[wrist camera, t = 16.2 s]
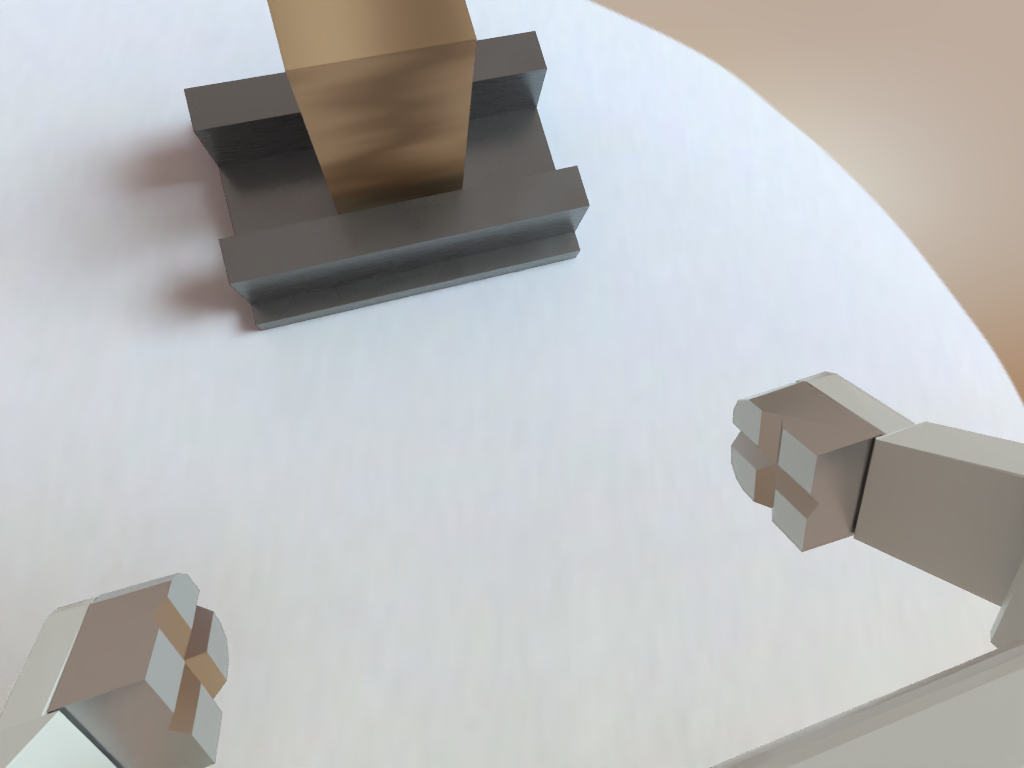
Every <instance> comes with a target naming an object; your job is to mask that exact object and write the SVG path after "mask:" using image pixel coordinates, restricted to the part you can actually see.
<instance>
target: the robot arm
mask: <svg viewBox="0 0 1024 768" xmlns="http://www.w3.org/2000/svg"><path fill="white" fill-rule="evenodd" d="M733 424H734V425H735V426H736V427H737V428H738V429H739V430H740V433H739V434H738V436H737V437H736V439H735V440H734V442H733V443H732V445H731V464H732V467H733V470H734V473H735V476H736V479H737V481H738V482H739V484H740V486H741V487H742V489H743V491H744V492H745V493H746V494H747V495H748V496H749V497H750V498H751V499H752V500H753V501H754V502H756V503H759V504H762V505H764V506H767V507H770V508H772V522H773V523H774V524H775V525H776V526H777V527H778V528H779V529H780V530H781V531H782V532H783V533H784V534H785V535H786V536H787V537H788V538H789V539H790V540H791V541H792V542H793V543H794V544H795V545H796V547H797V548H798V549H799V550H800V551H801V552H804V551H807V550H810V549H813V548H816V547H819V546H822V545H825V544H828V543H831V542H834V541H837V540H840V539H843V538H846V537H849V536H852V535H854V539H856V540H859V541H861V542H863V543H865V544H867V545H869V546H872V547H874V548H876V549H878V550H880V551H882V552H884V553H887V554H889V555H891V556H893V557H895V558H897V559H900V560H902V561H904V562H906V563H908V564H910V565H913V566H915V567H917V568H919V569H921V570H923V571H925V572H928V573H930V574H932V575H934V576H936V577H938V578H941V579H943V580H945V581H947V582H949V583H951V584H953V585H956V586H958V587H960V588H962V589H964V590H966V591H969V592H971V593H973V594H975V595H977V596H979V597H981V598H984V599H986V600H988V601H990V602H992V603H994V604H997V605H999V606H1001V609H1000V611H999V613H998V616H997V618H996V620H995V622H994V624H993V627H992V629H991V643H992V644H993V645H994V646H996V647H997V648H998V649H996V650H993V651H991V652H989V653H986V654H984V655H981V656H979V657H976V658H974V659H972V660H969V661H967V662H964V663H962V664H960V665H957V666H955V667H952V668H950V669H947V670H945V671H943V672H940V673H938V674H935V675H933V676H930V677H928V678H926V679H923V680H921V681H918V682H916V683H914V684H911V685H909V686H906V687H904V688H901V689H899V690H897V691H894V692H892V693H889V694H887V695H884V696H882V697H880V698H877V699H875V700H872V701H870V702H868V703H865V704H863V705H860V706H858V707H855V708H853V709H851V710H848V711H846V712H843V713H841V714H838V715H836V716H834V717H831V718H829V719H826V720H824V721H822V722H819V723H817V724H814V725H812V726H809V727H807V728H805V729H802V730H800V731H797V732H795V733H792V734H790V735H788V736H785V737H783V738H780V739H778V740H776V741H773V742H771V743H768V744H766V745H763V746H761V747H759V748H756V749H754V750H751V751H749V752H746V753H744V754H742V755H739V756H737V757H734V758H732V759H730V760H727V761H725V762H722V763H720V764H717V765H715V766H713V767H710V768H1024V444H1023V443H1019V442H1014V441H1010V440H1005V439H1001V438H996V437H992V436H987V435H983V434H978V433H974V432H970V431H965V430H961V429H956V428H952V427H947V426H943V425H938V424H934V423H929V422H923V423H920V424H917V425H916V424H915V423H913V422H912V421H910V420H909V419H907V418H905V417H904V416H902V415H901V414H899V413H898V412H896V411H894V410H893V409H891V408H890V407H888V406H887V405H885V404H883V403H882V402H880V401H879V400H877V399H876V398H874V397H872V396H871V395H869V394H868V393H866V392H865V391H863V390H861V389H860V388H858V387H857V386H855V385H853V384H852V383H850V382H849V381H847V380H846V379H844V378H842V377H841V376H839V375H838V374H835V373H831V372H826V371H825V372H822V373H819V374H816V375H813V376H810V377H807V378H804V379H801V380H798V381H796V382H795V383H791V384H788V385H785V386H782V387H778V388H775V389H772V390H769V391H766V392H763V393H759V394H756V395H753V396H750V397H747V398H744V399H740V400H738V401H737V403H736V405H735V407H734V411H733ZM198 595H199V589H198V587H197V586H196V585H195V583H194V582H193V581H192V579H191V578H190V577H189V575H188V574H183V573H176V574H172V575H169V576H165V577H162V578H158V579H155V580H151V581H148V582H144V583H141V584H137V585H134V586H130V587H127V588H123V589H120V590H116V591H113V592H109V593H106V594H102V595H100V596H99V597H95V598H91V599H87V600H84V601H81V602H77V603H74V604H70V605H67V606H63V607H60V608H58V609H56V610H55V611H54V612H53V613H52V614H50V615H49V616H48V617H47V619H46V620H45V623H44V625H43V627H42V629H41V631H40V633H39V635H38V638H37V640H36V642H35V644H34V646H33V648H32V650H31V652H30V655H29V657H28V659H27V661H26V663H25V665H24V667H23V670H22V672H21V674H20V676H19V678H18V680H17V682H16V684H15V687H14V689H13V691H12V693H11V695H10V697H9V699H8V701H7V704H6V706H5V708H4V710H3V712H2V714H1V716H0V768H204V767H207V766H210V765H212V764H215V761H216V754H217V747H218V740H219V733H220V726H221V719H222V711H221V710H220V708H219V707H218V705H217V704H216V703H215V701H214V700H213V699H214V698H215V696H216V695H217V693H218V692H219V691H220V689H221V688H222V686H223V685H224V684H225V682H226V681H227V674H228V666H229V655H228V646H227V638H226V636H225V633H224V630H223V627H222V625H221V623H220V621H219V619H218V618H217V616H216V615H215V613H214V612H213V611H211V610H208V609H205V608H202V607H200V606H197V600H198Z"/></svg>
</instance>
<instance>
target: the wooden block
mask: <svg viewBox="0 0 1024 768" xmlns="http://www.w3.org/2000/svg"><path fill="white" fill-rule="evenodd" d="M267 1H268V5H269V9H270V13H271V17H272V21H273V25H274V29H275V33H276V36H277V40H278V44H279V48H280V52H281V56H282V60H283V64H284V68H285V71H286V74H287V77H288V79H289V82H290V85H291V87H292V90H293V93H294V96H295V98H296V101H297V104H298V106H299V109H300V112H301V115H302V117H303V120H304V123H305V125H306V128H307V131H308V134H309V136H310V139H311V142H312V144H313V147H314V150H315V153H316V155H317V158H318V161H319V163H320V166H321V169H322V171H323V174H324V177H325V180H326V182H327V185H328V188H329V190H330V193H331V196H332V199H333V201H334V204H335V207H336V209H337V212H338V215H340V214H345V213H350V212H355V211H360V210H365V209H369V208H374V207H379V206H384V205H389V204H394V203H399V202H403V201H408V200H413V199H418V198H423V197H428V196H432V195H437V194H442V193H447V192H452V191H457V190H462V188H463V177H464V167H465V156H466V145H467V135H468V124H469V113H470V103H471V92H472V82H473V71H474V60H475V50H476V35H475V32H474V29H473V25H472V22H471V19H470V15H469V12H468V9H467V5H466V2H465V0H267Z"/></svg>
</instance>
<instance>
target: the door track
mask: <svg viewBox="0 0 1024 768" xmlns="http://www.w3.org/2000/svg"><path fill="white" fill-rule="evenodd" d="M546 70H547V67H546V64H545V61H544V58H543V54H542V51H541V48H540V45H539V41H538V38H537V35H536V32H535V31H532V32H526V33H520V34H514V35H508V36H502V37H496V38H490V39H484V40H478V41H476V50H475V60H474V71H473V82H472V92H471V103H470V113H469V124H468V135H467V145H466V156H465V167H464V177H463V188H462V190H457V191H452V192H447V193H442V194H437V195H432V196H428V197H423V198H418V199H413V200H408V201H403V202H399V203H394V204H389V205H384V206H379V207H374V208H369V209H365V210H360V211H355V212H350V213H345V214H340V215H338V212H337V209H336V207H335V204H334V201H333V199H332V196H331V193H330V190H329V188H328V185H327V182H326V180H325V177H324V174H323V171H322V169H321V166H320V163H319V161H318V158H317V155H316V153H315V150H314V147H313V144H312V142H311V139H310V136H309V134H308V131H307V128H306V125H305V123H304V120H303V117H302V115H301V112H300V109H299V106H298V104H297V101H296V98H295V96H294V93H293V90H292V87H291V85H290V82H289V79H288V77H287V74H286V72H284V73H278V74H272V75H266V76H260V77H254V78H248V79H242V80H236V81H230V82H223V83H217V84H211V85H205V86H199V87H193V88H187V89H184V92H185V96H186V100H187V104H188V109H189V113H190V117H191V122H192V126H193V130H194V132H195V134H196V135H197V136H198V138H199V139H200V141H201V142H202V144H203V145H204V147H205V148H206V149H207V151H208V152H209V154H210V155H211V157H212V158H213V159H214V161H215V162H216V164H217V165H218V167H219V170H220V175H221V179H222V183H223V187H224V192H225V196H226V200H227V204H228V209H229V213H230V217H231V221H232V225H233V230H234V234H235V236H234V237H229V238H224V239H219V242H220V246H221V250H222V255H223V259H224V263H225V268H226V272H227V276H228V280H229V284H230V285H231V286H232V287H233V288H234V289H235V290H236V291H237V292H238V293H239V294H240V295H241V296H242V297H243V298H245V299H246V300H247V301H248V302H249V303H250V304H251V306H252V310H253V314H254V319H255V323H256V326H258V327H259V328H260V329H261V330H266V329H270V328H275V327H279V326H283V325H287V324H292V323H296V322H300V321H305V320H309V319H313V318H317V317H322V316H326V315H330V314H335V313H339V312H343V311H348V310H352V309H356V308H360V307H365V306H369V305H373V304H378V303H382V302H386V301H391V300H395V299H399V298H403V297H408V296H412V295H416V294H421V293H425V292H429V291H434V290H438V289H442V288H446V287H451V286H455V285H459V284H464V283H468V282H472V281H477V280H481V279H485V278H489V277H494V276H498V275H502V274H507V273H511V272H515V271H520V270H524V269H528V268H532V267H537V266H541V265H545V264H550V263H554V262H558V261H562V260H567V259H571V258H575V257H576V256H577V255H578V253H579V251H580V248H579V245H578V241H577V238H576V235H575V230H576V229H577V227H578V225H579V223H580V222H581V220H582V218H583V216H584V215H585V213H586V211H587V209H588V207H589V206H590V205H589V202H588V199H587V196H586V192H585V189H584V186H583V183H582V180H581V176H580V173H579V170H578V167H577V166H573V167H568V168H563V169H559V170H555V166H554V163H553V160H552V157H551V153H550V150H549V147H548V144H547V140H546V137H545V134H544V131H543V127H542V124H541V121H540V117H539V114H538V111H537V108H536V107H537V103H538V100H539V96H540V92H541V89H542V85H543V81H544V78H545V74H546Z"/></svg>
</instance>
